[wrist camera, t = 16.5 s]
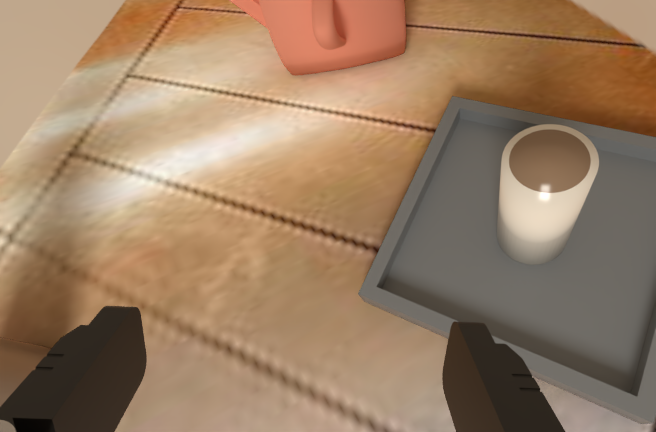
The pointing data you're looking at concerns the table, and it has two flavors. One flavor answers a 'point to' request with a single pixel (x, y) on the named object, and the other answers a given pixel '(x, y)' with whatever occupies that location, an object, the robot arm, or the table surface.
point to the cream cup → (543, 190)
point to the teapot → (331, 31)
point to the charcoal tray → (532, 280)
